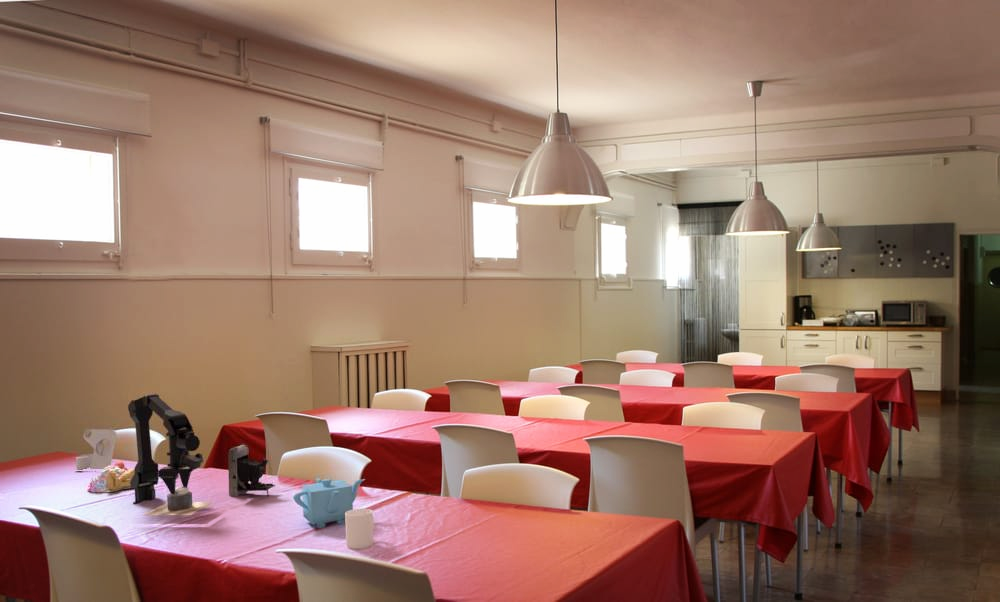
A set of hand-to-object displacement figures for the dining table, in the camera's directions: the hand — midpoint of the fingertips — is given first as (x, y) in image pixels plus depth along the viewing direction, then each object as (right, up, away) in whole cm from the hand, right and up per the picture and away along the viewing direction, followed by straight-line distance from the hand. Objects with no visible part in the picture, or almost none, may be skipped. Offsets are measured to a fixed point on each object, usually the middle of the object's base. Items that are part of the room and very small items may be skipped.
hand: (179, 491), depth 308 cm
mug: (+75, -6, -48) cm, 89 cm away
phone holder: (-69, -9, +82) cm, 108 cm away
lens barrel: (0, -6, 0) cm, 6 cm away
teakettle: (+60, -6, -22) cm, 64 cm away
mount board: (0, -7, -1) cm, 7 cm away
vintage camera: (+22, -7, +19) cm, 29 cm away
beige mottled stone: (0, -2, 0) cm, 2 cm away
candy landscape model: (-44, -9, +45) cm, 63 cm away
